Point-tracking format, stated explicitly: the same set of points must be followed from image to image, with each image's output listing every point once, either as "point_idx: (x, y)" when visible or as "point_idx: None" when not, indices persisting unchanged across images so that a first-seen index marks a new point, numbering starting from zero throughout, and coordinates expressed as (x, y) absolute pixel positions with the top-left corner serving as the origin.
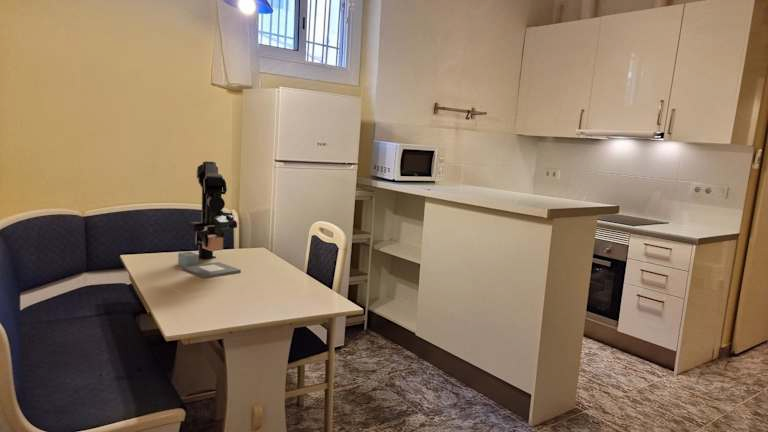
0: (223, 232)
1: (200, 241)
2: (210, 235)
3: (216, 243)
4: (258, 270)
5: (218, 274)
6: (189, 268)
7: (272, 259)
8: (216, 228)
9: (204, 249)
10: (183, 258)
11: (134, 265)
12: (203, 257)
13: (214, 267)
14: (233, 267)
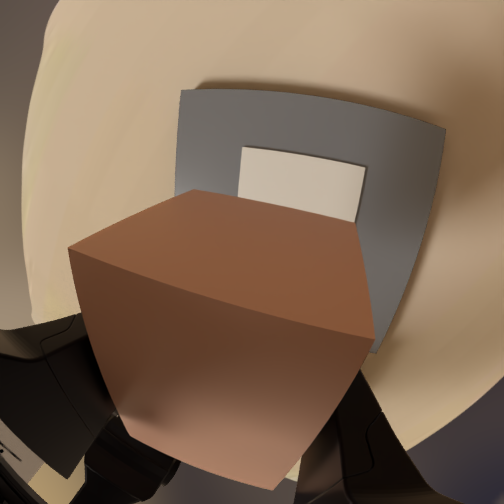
0: (7, 346)
1: None
2: (185, 452)
3: (257, 239)
4: (108, 91)
5: (346, 102)
6: (381, 315)
7: (27, 212)
8: (70, 470)
9: None
10: None
11: (404, 446)
12: None
13: None
14: (179, 161)
